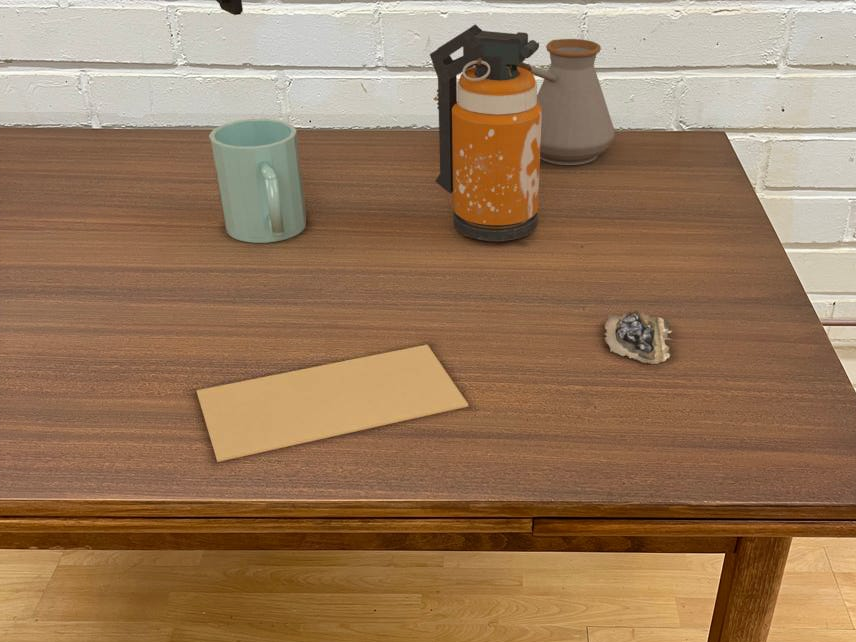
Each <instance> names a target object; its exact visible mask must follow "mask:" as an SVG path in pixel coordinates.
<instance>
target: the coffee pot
mask: <svg viewBox="0 0 856 642" xmlns="http://www.w3.org/2000/svg"><path fill="white" fill-rule="evenodd" d="M545 49H546V50H547V52H548V53H549V58H550V66H549V68H548V70H544V69H541V68H538V67H535V66H531V65H530V64H528V63H526V62H524V61H523V62H522V63H521V64H520V65H517V67H520V68H523V69H526V70H528V71H529V72H531V73H532V74H533V76H534V77H535V76H536V77H537V78H540V79H543V81H542V84H541V86H540V88H539V90H538V91H537V103H538V104H539V105H540V106H541V108H542V121H541V145H540V160H541V161H543V162H547V163H549V164H555V165H558V166H559V165H560V166H577V165H585V164H589V163H590V162H593V161H595V160H596V159H598V156H599V155H602V154H603V153H604V152H605V151H606V150H607V149H608V148H609V147H610V146H611V144H612V142H613V140H614V138H615V134H616V132H615V131H616V130H615V128H614V125H613V121H612V117H611V115H610V111H609V108H608V105H607V102H606V99H605V96H604V93H603V90H602V87H601V83H600V81H599V77H598V74H597V70H596V67H595V62H596V58H597V54H599V53H600V52H601V50H602V47H601V45H600V44H599V43H597V42H596V41H593V40H589V39H582V38H560V39H552V40H551V41H549V42H548V43H547V44H546V46H545ZM511 66H512V65H511ZM473 67H474V66H473ZM473 67H471V68H473Z"/></svg>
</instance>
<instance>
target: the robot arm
mask: <svg viewBox="0 0 856 642" xmlns="http://www.w3.org/2000/svg"><path fill="white" fill-rule="evenodd" d="M215 1H216V2H217V3H218V4H219V7H220V9H221V10H223V11H224V12H226V13H229V14H231V15H234V16H238V15H241V14H242V13H243V12H244V7H243V2H242V0H215Z"/></svg>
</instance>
